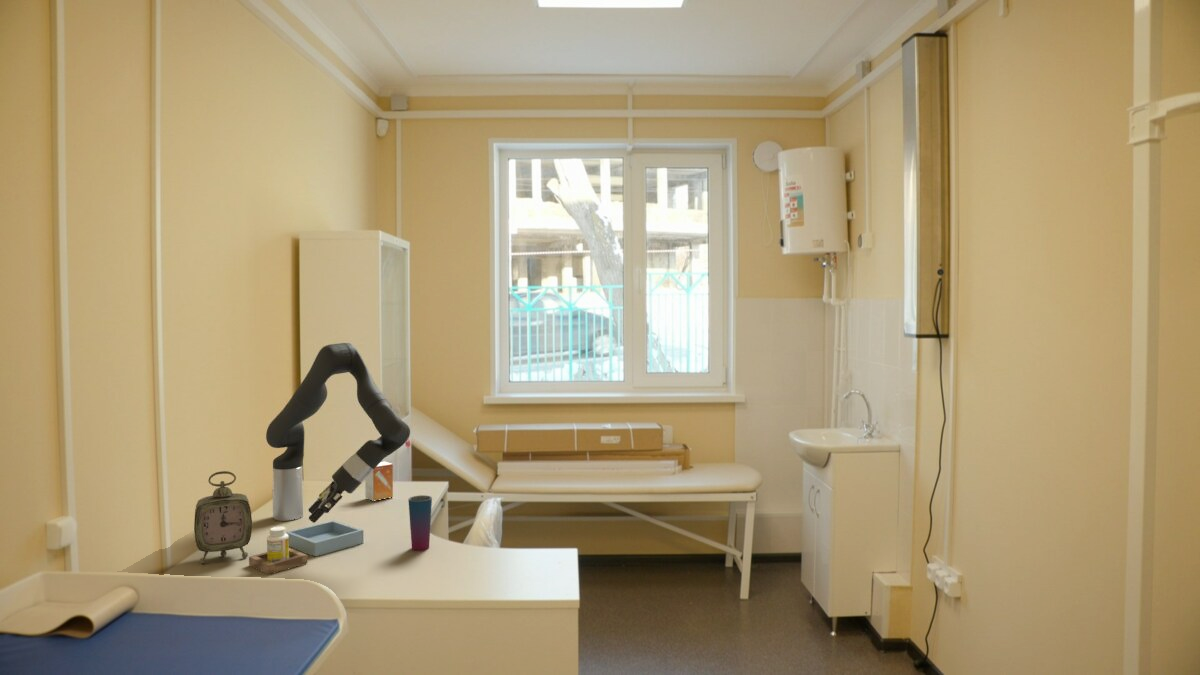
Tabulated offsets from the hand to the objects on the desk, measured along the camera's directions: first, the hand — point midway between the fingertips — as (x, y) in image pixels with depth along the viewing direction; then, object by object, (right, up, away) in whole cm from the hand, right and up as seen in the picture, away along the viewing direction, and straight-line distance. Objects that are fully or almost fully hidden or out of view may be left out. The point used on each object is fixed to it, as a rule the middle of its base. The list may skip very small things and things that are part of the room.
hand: (310, 516), depth 215 cm
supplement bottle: (-8, -13, -3) cm, 16 cm away
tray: (-2, -12, +15) cm, 19 cm away
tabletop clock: (-26, -13, +3) cm, 29 cm away
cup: (+28, -12, +12) cm, 33 cm away
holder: (-8, -13, -3) cm, 15 cm away
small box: (0, -10, +68) cm, 69 cm away
